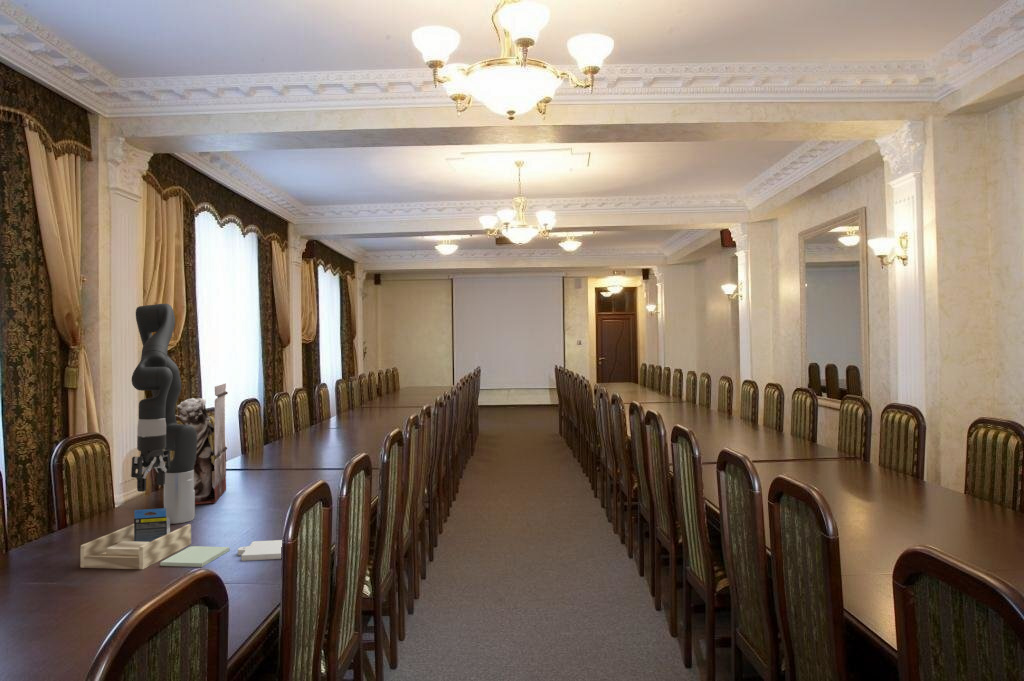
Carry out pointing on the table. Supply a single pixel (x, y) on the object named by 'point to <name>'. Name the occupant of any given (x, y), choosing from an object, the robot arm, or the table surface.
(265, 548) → the mounting plate
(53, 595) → the table surface
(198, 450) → the cherub statue
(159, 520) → the label tape cartridge
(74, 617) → the table surface
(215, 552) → the pad
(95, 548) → the wooden tray
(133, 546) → the offcut stack
